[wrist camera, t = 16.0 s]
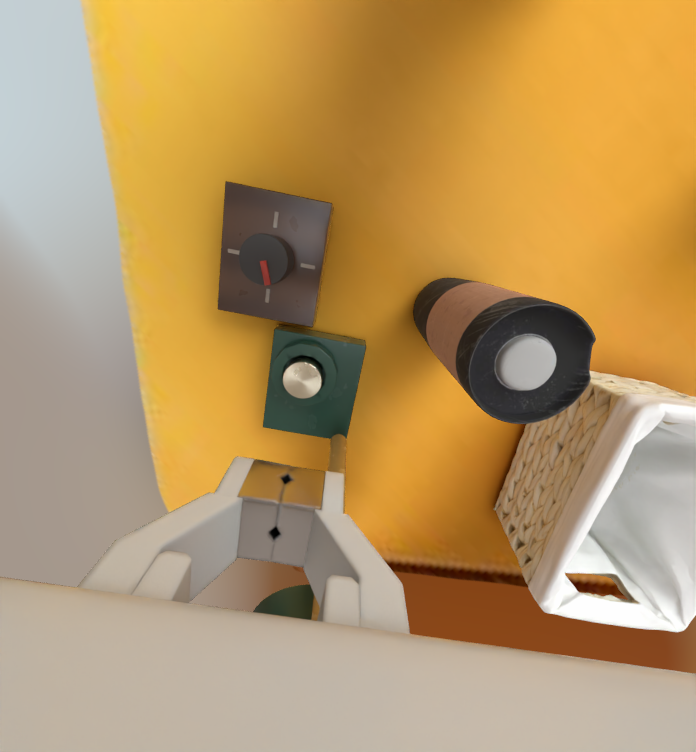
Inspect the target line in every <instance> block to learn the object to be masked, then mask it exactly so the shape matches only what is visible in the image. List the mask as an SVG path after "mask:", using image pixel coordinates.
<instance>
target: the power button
mask: <svg viewBox="0 0 696 752" xmlns="http://www.w3.org/2000/svg"><path fill="white" fill-rule="evenodd" d="M322 380H323V372H322V369H321V367H320V365H319V364H318V363H317V362H316V361H314V360H313V359H310V358H306V357H301V358H297V359H295V360H293V361H292V362H291V363H290V364H289V365H288V367H287V368H286V370H285V372H284V375H283V384H284V387H285V389H286V390H287V391H288V392H289V393H290V394H291V395H292V396H294V397H297V398H310V397H312V396H314V395H315V394H316V393H317V392H318V391H319V390H320V388H321V384H322Z"/></svg>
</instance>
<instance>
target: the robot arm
mask: <svg viewBox="0 0 696 752" xmlns="http://www.w3.org/2000/svg"><path fill="white" fill-rule="evenodd" d="M343 498H344V474H343V473H337V472H330V471H326V472H325V471H320V470H313V469H306V468H300V467H293V466H290V465H284V464H279V463H273V462H268V461H263V460H257V459H252V458H246V457H239V456H237V457H235V458H234V459H233V461H232V463H231V465H230V466H229V468H228V470H227V472H226V473H225V475H224V477H223V479H222V480H221V482H220V484H219V486H218V488H217V489H216V491H215V493H207V494H205V495H203V496H201V497H199V498H197V499H195V500H193V501H191V502H189V503H187V504H185V505H183V506H181V507H179V508H178V509H176V510H174V511H172V512H170V513H168V514H166V515H164V516H162V517H160V518H158V519H156V520H154V521H152V522H151V523H148V524H146V525H144V526H142V527H140V528H139V529H136V530H135V531H133V532H131V533H129V534H127V535H125V536H123V537H121V538H119V539H117V540H115V541H114V542H113V543H112V545H111V546H110V547H109V548H108V549H107V551H106V552H105V553H104V554H103V556H102V557H101V558H100V559H99V560H98V562H97V563H96V564H95V566H94V567H93V568H92V569H91V570H90V571H89V573H88V574H87V575H86V576H85V577H84V579H83V580H82V581H81V582H80V584H79V585H78V586H77V587H70V586H63V585H55V584H48V583H41V582H34V581H27V580H20V579H12V578H5V577H0V752H696V674H693V673H686V672H679V671H671V670H664V669H657V668H650V667H643V666H636V665H629V664H621V663H614V662H607V661H600V660H593V659H585V658H579V657H571V656H564V655H557V654H549V653H543V652H536V651H528V650H521V649H514V648H507V647H500V646H493V645H485V644H477V643H470V642H463V641H456V640H449V639H441V638H434V637H427V636H420V635H413V634H410V631H409V624H408V617H407V611H406V604H405V598H404V592H403V585H402V583H401V581H400V580H399V579H398V578H397V576H396V575H395V574H394V572H393V571H392V570H391V569H390V567H389V566H388V565H387V563H386V562H385V561H384V560H383V558H382V557H381V556H380V555H379V553H378V552H377V551H376V549H375V548H374V547H373V546H372V544H371V543H370V542H369V540H368V539H367V538H366V537H365V535H364V534H363V533H362V531H361V530H360V529H359V528H358V526H357V525H356V524H355V523H354V521H353V520H352V519H351V517H350V516H349V515H347V514H343ZM236 558H244V559H253V560H261V561H271V562H275V563H282V564H287V565H292V566H298V567H304V571H305V574H306V576H307V579H308V581H309V583H310V586H311V588H312V590H313V593H314V595H315V597H316V600H317V602H318V604H319V607H320V610H319V615H318V619H317V621H314V620H307V619H300V618H293V617H285V616H278V615H271V614H264V613H257V612H249V611H242V610H234V609H228V608H220V607H213V606H205V605H199V604H191V603H189V602H190V601H191V600H192V599H194V598H195V597H196V596H197V595H198V594H199V593H200V592H201V591H202V590H203V589H205V587H207V586H208V585H209V584H210V583H211V582H212V581H213V580H215V579H216V578H217V577H218V576H219V575H220V574H221V573H222V572H223V571H224V570H226V569H227V568H228V567H229V566H230V565H231V564H232V563H233V562H234V561H235V560H236Z"/></svg>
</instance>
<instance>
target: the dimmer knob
mask: <svg viewBox="0 0 696 752" xmlns="http://www.w3.org/2000/svg"><path fill="white" fill-rule="evenodd" d="M239 264H240V267H241V269H242V271H243V273H244V274H245V276H246V277H247V278H248V279H249V280H251V281H252V282H254V283H256V284H259V285H265V286H266V285H272V284H275V283H277V282H279V281H282V280H283V279H285V278H286V277H287V276H288V275H289V274H290V273H291V271H292V269H293V265H294V256H293V252H292V249H291V248H290V246H289V245H288V243H287V242H286V241H285V240H283V239H282V238H280V237H278V236H274V235H269V234H255V235H252V236H250V237H249V238H247V239H246V240H245V241H244V243H243V244H242V246H241V248H240V251H239Z"/></svg>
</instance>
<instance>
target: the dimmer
mask: <svg viewBox="0 0 696 752" xmlns="http://www.w3.org/2000/svg"><path fill="white" fill-rule="evenodd" d="M332 214H333V205H332V203H328V202H323V201H318V200H313V199H309V198H304V197H299V196H294V195H289V194H285V193H280V192H275V191H270V190H266V189H261V188H256V187H251V186H246V185H242V184H237V183H232V182H227V181H226V183H225V199H224V215H223V231H222V248H221V264H220V280H219V297H218V310H224V311H229V312H234V313H239V314H245V315H250V316H255V317H261V318H266V319H271V320H277V321H282V322H287V323H292V324H298V325H303V326H308V327H313V325H314V323H315V321H316V315H317V309H318V302H319V296H320V290H321V283H322V277H323V271H324V265H325V258H326V252H327V246H328V239H329V233H330V227H331V221H332ZM255 234H269V235H274V236H278V237H280V238H282V239H283V240H285V241H286V242H287V243H288V245H289V246H290V248H291V249H292V252H293V256H294V265H293V269H292V271H291V273H290V274H289V275H288V276H287V277H286V278H285V279H283V280H282V281H279V282H277V283H275V284H272V285H266V286H265V285H259V284H256V283H254V282H252V281H251V280H249V279H248V278H247V277H246V276H245V274H244V273H243V271H242V269H241V267H240V264H239V251H240V248H241V246H242V244H243V243H244V241H245V240H246V239H247V238H249V237H250V236H252V235H255Z"/></svg>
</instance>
